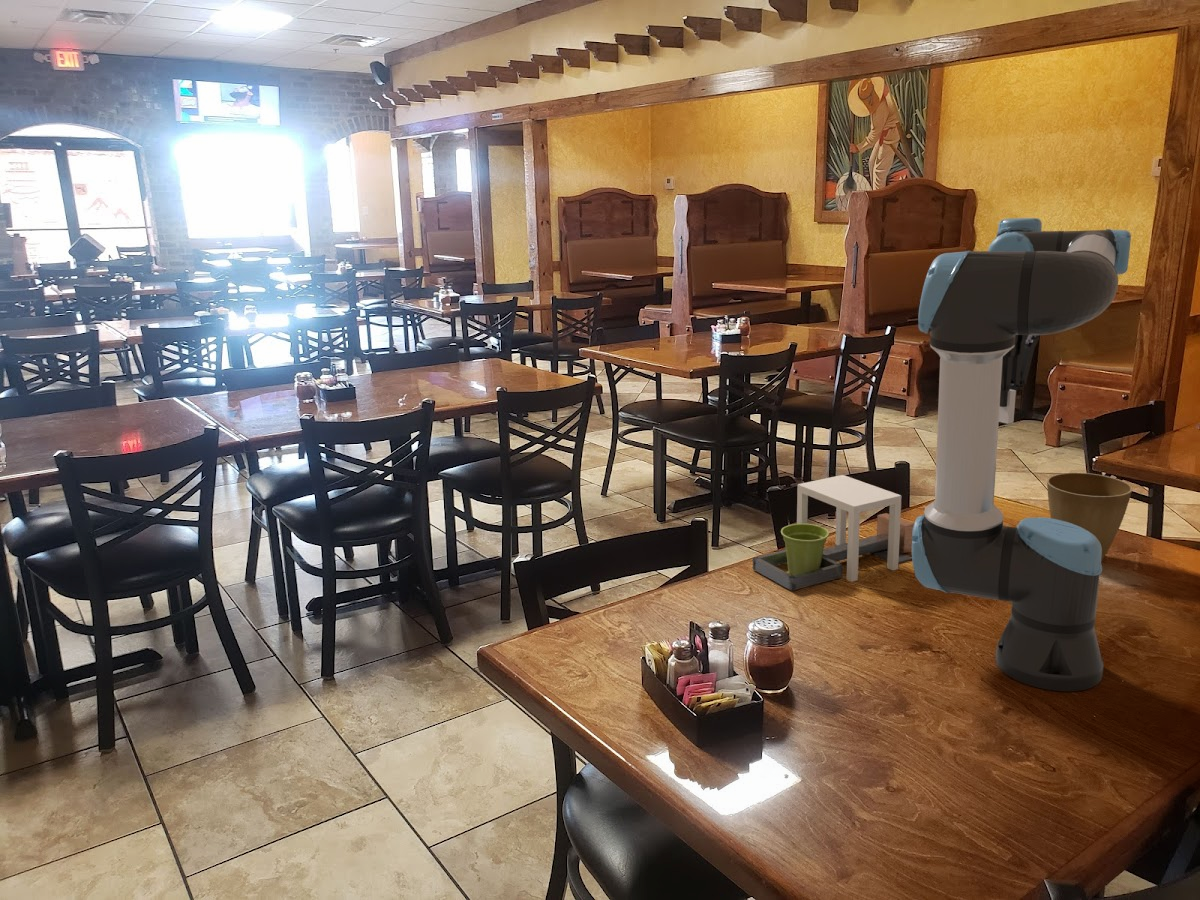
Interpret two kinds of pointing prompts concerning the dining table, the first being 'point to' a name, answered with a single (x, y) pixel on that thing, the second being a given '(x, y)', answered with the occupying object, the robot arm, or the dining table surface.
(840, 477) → the white mini stool
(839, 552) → the long-handled tray
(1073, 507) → the plant pot
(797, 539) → the plant pot
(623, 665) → the dining table surface
